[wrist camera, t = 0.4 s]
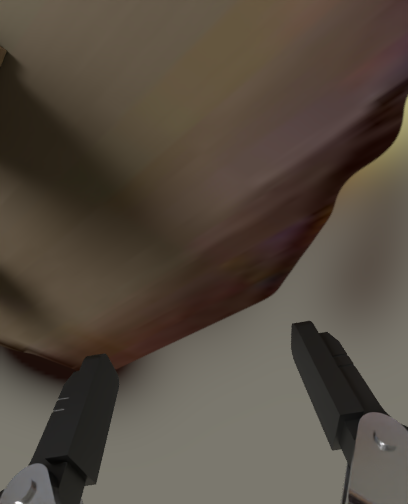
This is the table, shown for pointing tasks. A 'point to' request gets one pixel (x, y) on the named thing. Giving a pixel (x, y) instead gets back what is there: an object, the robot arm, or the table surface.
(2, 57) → the post
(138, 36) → the table surface
